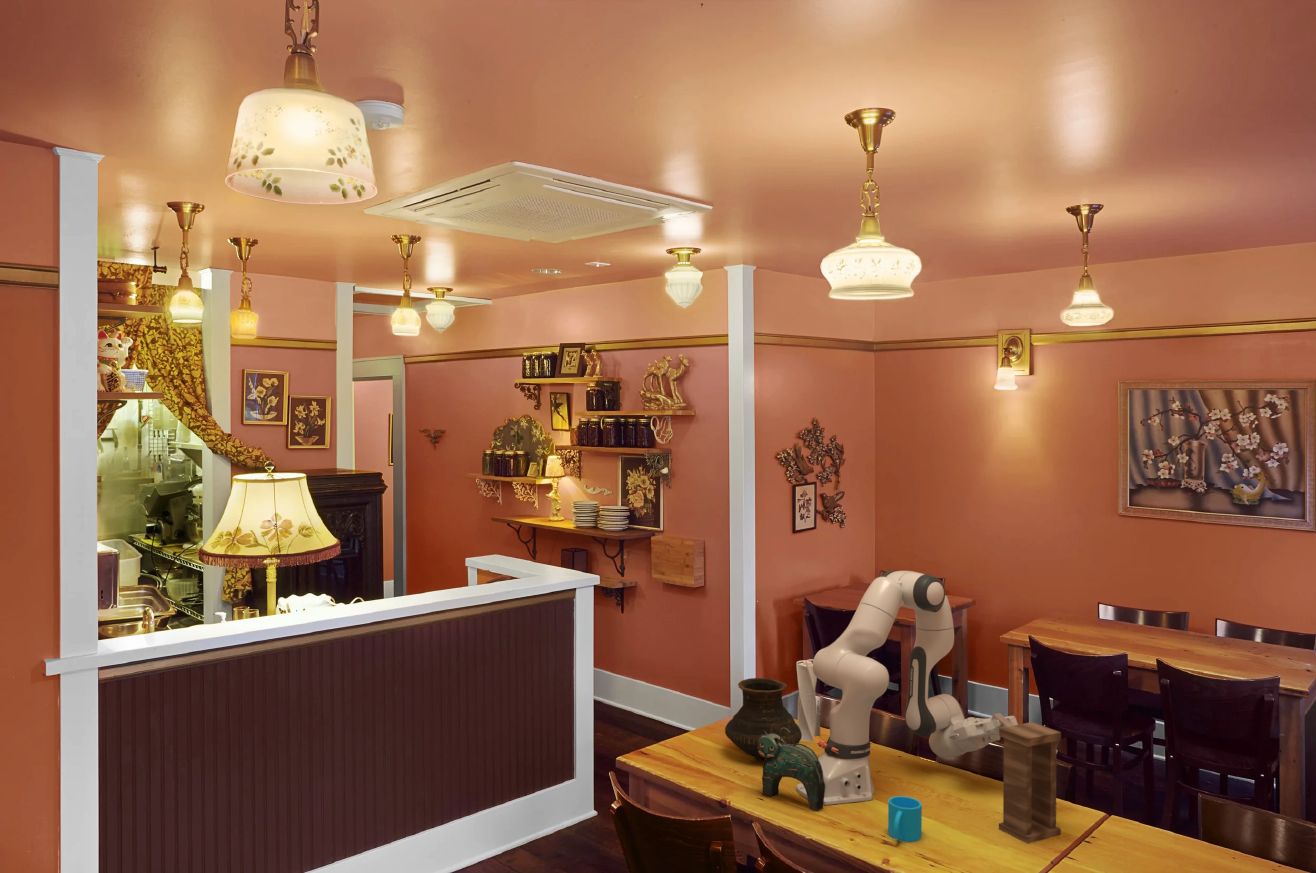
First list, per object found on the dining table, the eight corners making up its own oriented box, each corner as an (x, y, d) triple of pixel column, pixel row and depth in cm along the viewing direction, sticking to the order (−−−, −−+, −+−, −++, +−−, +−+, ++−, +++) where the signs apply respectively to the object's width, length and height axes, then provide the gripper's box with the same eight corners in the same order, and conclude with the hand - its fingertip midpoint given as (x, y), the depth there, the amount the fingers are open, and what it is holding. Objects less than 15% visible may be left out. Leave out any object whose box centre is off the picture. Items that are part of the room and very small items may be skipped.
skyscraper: (820, 745, 288) (820, 660, 289) (795, 743, 290) (795, 659, 290) (820, 737, 297) (821, 654, 297) (796, 735, 298) (797, 653, 299)
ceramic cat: (755, 794, 246) (755, 723, 246) (767, 788, 251) (768, 718, 251) (817, 814, 233) (817, 739, 233) (829, 806, 238) (829, 733, 238)
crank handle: (990, 721, 249) (996, 705, 247) (1008, 717, 252) (1014, 702, 251) (1036, 761, 235) (1043, 745, 233) (1054, 757, 238) (1061, 741, 236)
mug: (893, 825, 227) (893, 793, 227) (925, 832, 222) (925, 800, 223) (879, 842, 217) (879, 809, 217) (911, 850, 212) (912, 817, 212)
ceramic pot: (711, 756, 276) (711, 685, 276) (750, 737, 295) (750, 670, 295) (778, 774, 261) (778, 699, 262) (814, 752, 281) (814, 682, 281)
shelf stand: (1027, 843, 217) (1027, 738, 217) (998, 829, 225) (999, 728, 225) (1060, 834, 222) (1061, 732, 223) (1031, 820, 230) (1031, 722, 231)
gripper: (942, 727, 253) (973, 715, 243) (992, 718, 263) (1025, 705, 252) (950, 750, 251) (982, 738, 240) (1001, 739, 260) (1034, 727, 249)
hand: (1005, 721), depth 246 cm, fingers closed on crank handle, 2 cm apart
